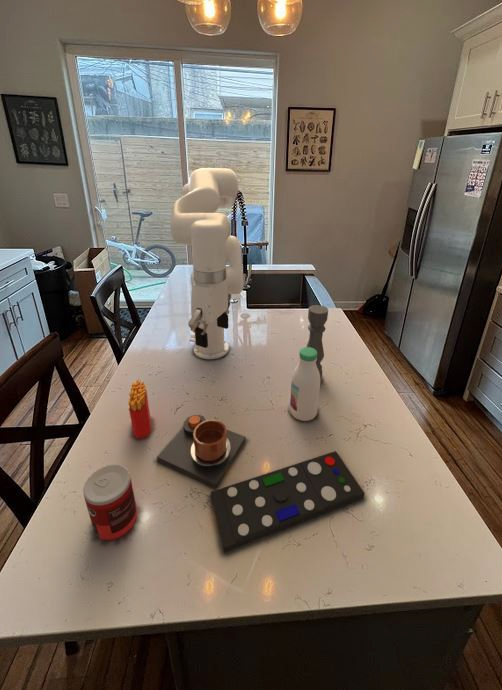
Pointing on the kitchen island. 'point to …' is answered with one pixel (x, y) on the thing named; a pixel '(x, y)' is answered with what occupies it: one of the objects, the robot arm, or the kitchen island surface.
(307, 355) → the milk bottle
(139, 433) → the french fries
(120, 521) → the canned food
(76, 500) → the kitchen island surface
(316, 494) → the remote control
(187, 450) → the scale
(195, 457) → the scale pan
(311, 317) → the pepper mill
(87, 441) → the kitchen island surface
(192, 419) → the tare button
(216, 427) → the bowl
